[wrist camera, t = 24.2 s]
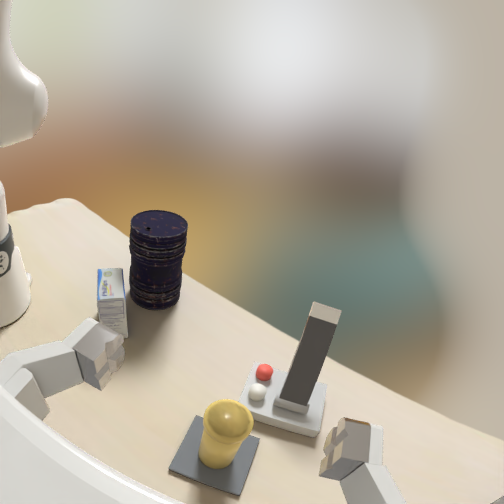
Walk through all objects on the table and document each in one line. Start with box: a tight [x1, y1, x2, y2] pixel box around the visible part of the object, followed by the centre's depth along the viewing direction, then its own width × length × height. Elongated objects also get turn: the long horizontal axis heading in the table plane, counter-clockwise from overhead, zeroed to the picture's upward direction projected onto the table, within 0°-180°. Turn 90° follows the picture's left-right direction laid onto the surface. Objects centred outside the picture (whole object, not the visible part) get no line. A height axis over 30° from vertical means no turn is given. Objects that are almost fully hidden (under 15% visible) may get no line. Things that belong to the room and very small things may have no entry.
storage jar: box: [129, 210, 188, 310], centre depth 54 cm, size 10×10×15 cm
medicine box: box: [97, 268, 128, 338], centre depth 47 cm, size 8×4×9 cm, turn 23°
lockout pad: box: [169, 415, 260, 496], centre depth 33 cm, size 9×9×1 cm
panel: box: [238, 361, 327, 438], centre depth 42 cm, size 12×9×3 cm
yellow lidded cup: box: [198, 399, 254, 469], centre depth 31 cm, size 5×5×10 cm
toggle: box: [273, 302, 341, 415], centre depth 41 cm, size 5×2×15 cm
